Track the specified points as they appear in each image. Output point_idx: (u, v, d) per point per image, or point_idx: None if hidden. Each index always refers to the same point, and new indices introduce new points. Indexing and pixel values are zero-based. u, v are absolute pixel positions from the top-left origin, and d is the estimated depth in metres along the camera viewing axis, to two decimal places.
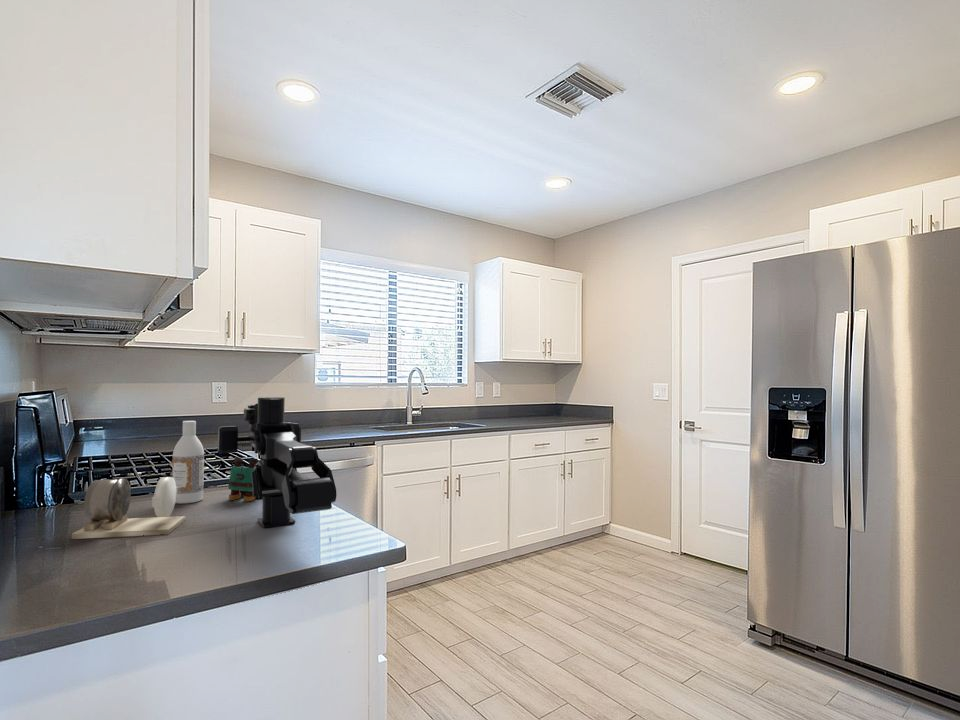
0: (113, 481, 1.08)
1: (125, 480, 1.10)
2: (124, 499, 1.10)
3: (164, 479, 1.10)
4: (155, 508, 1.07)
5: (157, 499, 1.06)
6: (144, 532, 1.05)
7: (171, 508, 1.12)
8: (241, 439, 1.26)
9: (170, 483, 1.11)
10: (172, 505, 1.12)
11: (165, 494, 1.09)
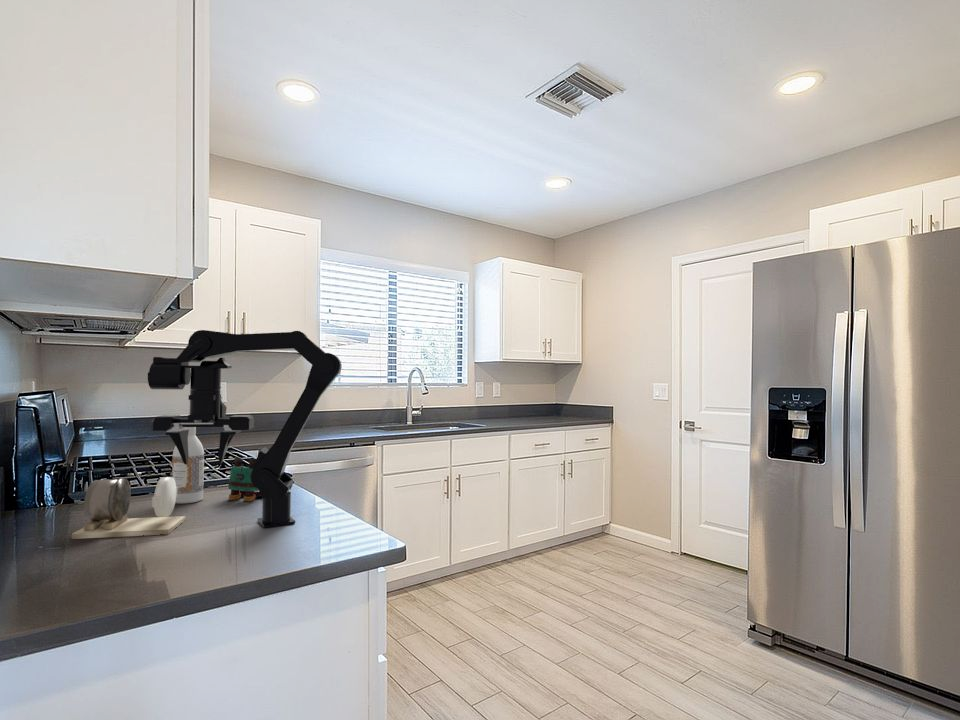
0: (113, 481, 1.08)
1: (125, 480, 1.10)
2: (124, 499, 1.10)
3: (164, 479, 1.10)
4: (155, 508, 1.07)
5: (157, 499, 1.06)
6: (144, 532, 1.05)
7: (171, 508, 1.12)
8: None
9: (170, 483, 1.11)
10: (172, 505, 1.12)
11: (165, 494, 1.09)
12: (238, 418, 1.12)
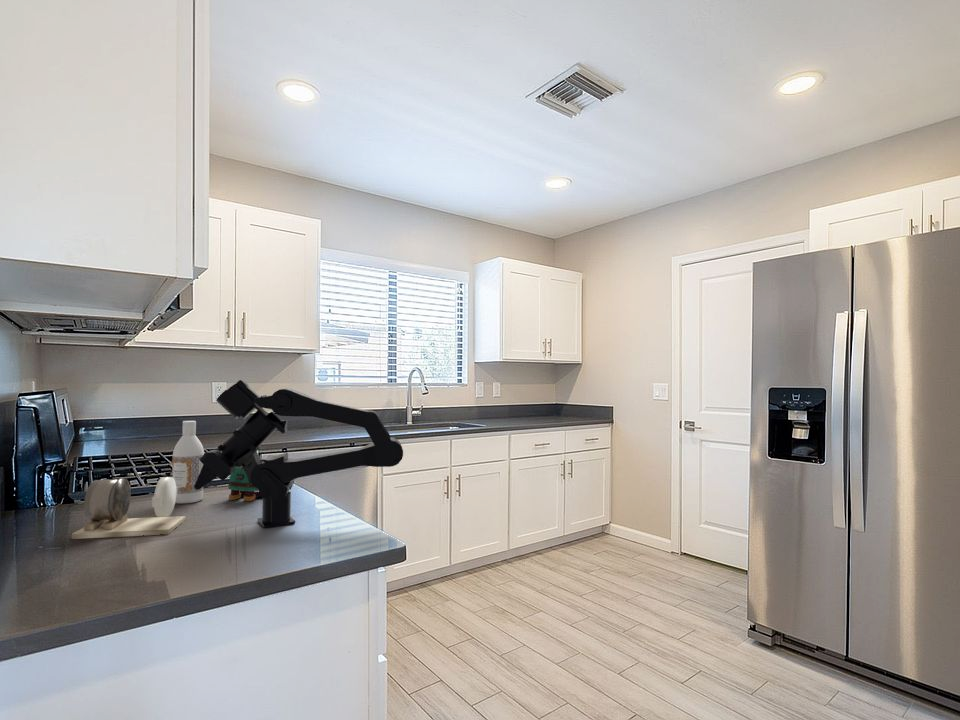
0: (113, 481, 1.08)
1: (125, 480, 1.10)
2: (124, 499, 1.10)
3: (164, 479, 1.10)
4: (155, 508, 1.07)
5: (157, 499, 1.06)
6: (144, 532, 1.05)
7: (171, 508, 1.12)
8: None
9: (170, 483, 1.11)
10: (172, 505, 1.12)
11: (165, 494, 1.09)
12: (213, 451, 1.06)
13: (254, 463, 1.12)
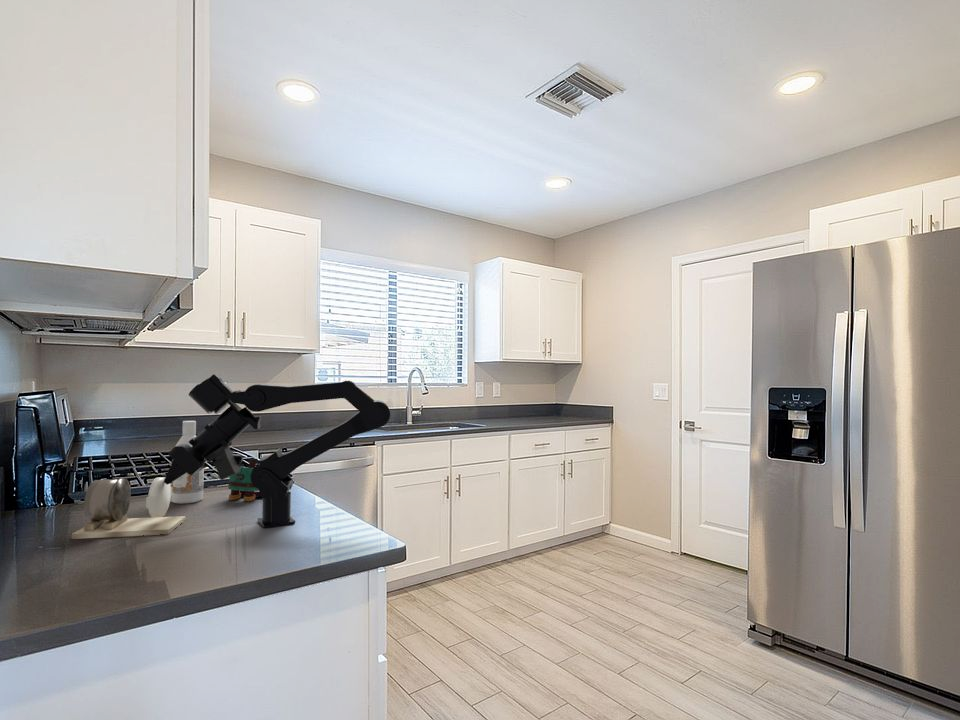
0: (113, 481, 1.08)
1: (125, 480, 1.10)
2: (124, 499, 1.10)
3: (159, 479, 1.09)
4: (149, 508, 1.07)
5: (151, 499, 1.06)
6: (144, 532, 1.05)
7: (165, 508, 1.12)
8: None
9: (165, 483, 1.11)
10: (166, 505, 1.12)
11: (159, 494, 1.08)
12: (182, 445, 1.05)
13: (225, 459, 1.11)
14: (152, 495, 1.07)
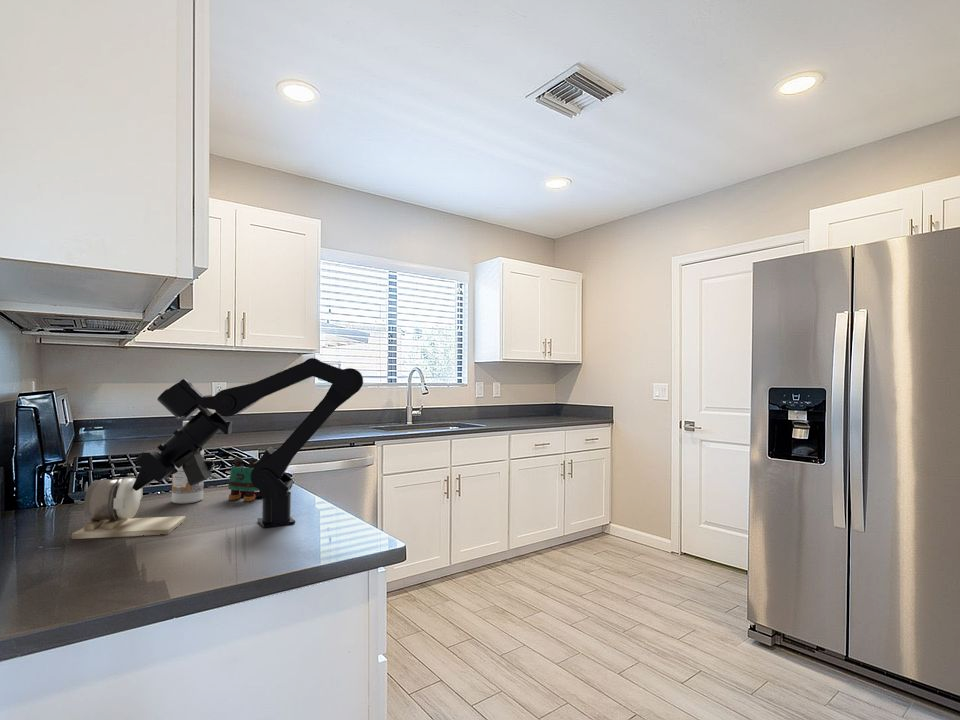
0: (113, 481, 1.08)
1: None
2: None
3: (127, 480, 1.08)
4: (117, 510, 1.05)
5: (119, 500, 1.04)
6: (144, 532, 1.05)
7: (135, 509, 1.10)
8: None
9: None
10: (136, 506, 1.11)
11: (128, 495, 1.07)
12: (149, 451, 1.04)
13: (195, 464, 1.10)
14: (120, 496, 1.05)
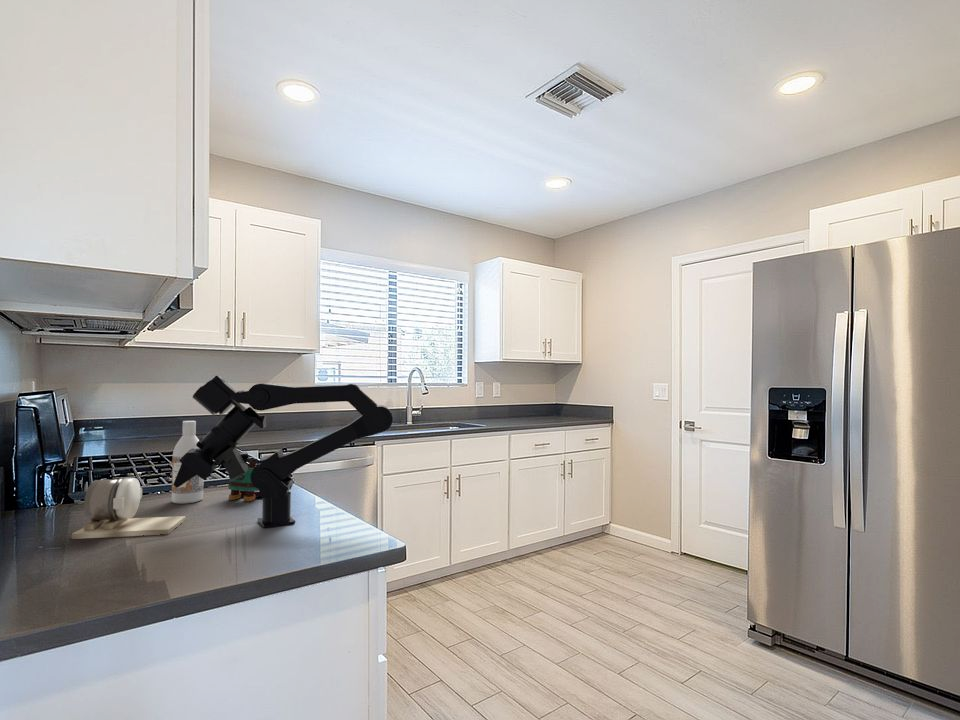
0: (113, 481, 1.08)
1: None
2: None
3: (127, 480, 1.08)
4: (116, 510, 1.05)
5: (118, 500, 1.04)
6: (144, 532, 1.05)
7: (134, 509, 1.10)
8: None
9: (133, 484, 1.10)
10: (136, 506, 1.11)
11: (127, 495, 1.07)
12: (192, 450, 1.05)
13: (234, 459, 1.12)
14: (119, 496, 1.05)
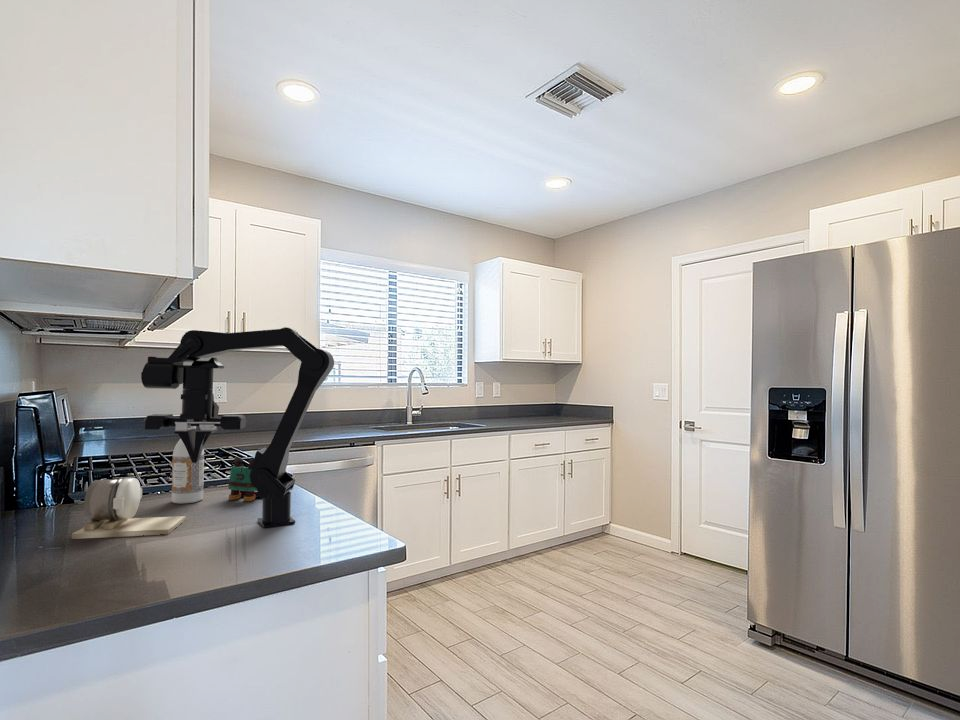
0: (113, 481, 1.08)
1: None
2: None
3: (127, 480, 1.08)
4: (116, 510, 1.05)
5: (118, 500, 1.04)
6: (144, 532, 1.05)
7: (134, 509, 1.10)
8: (173, 417, 1.13)
9: (133, 484, 1.10)
10: (136, 506, 1.11)
11: (127, 495, 1.07)
12: (230, 418, 1.13)
13: (215, 404, 1.19)
14: (119, 496, 1.05)
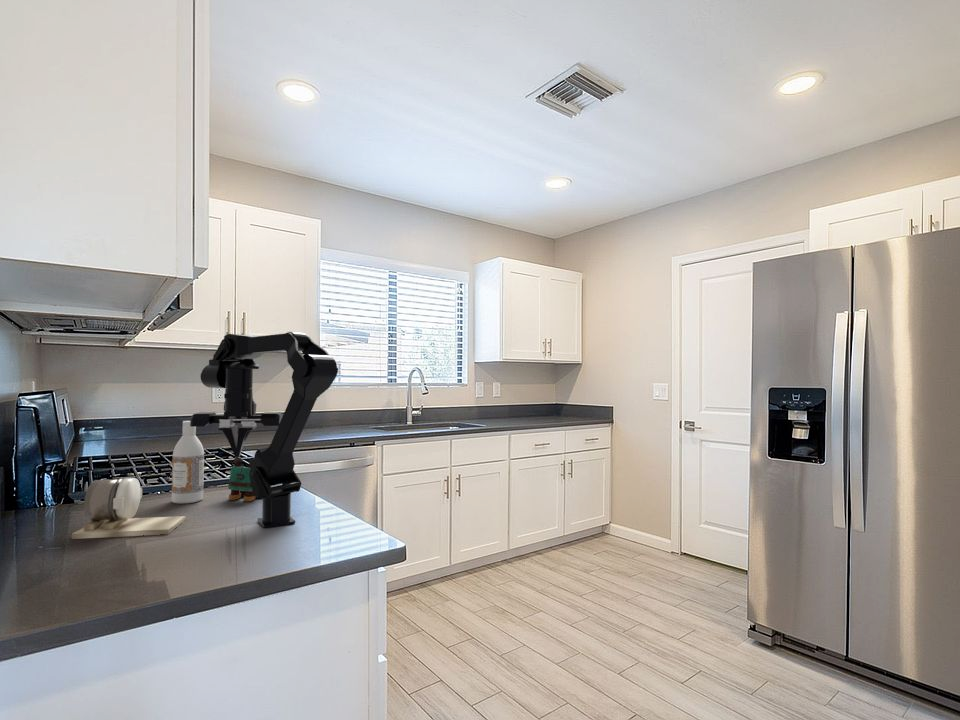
0: (113, 481, 1.08)
1: None
2: None
3: (127, 480, 1.08)
4: (116, 510, 1.05)
5: (118, 500, 1.04)
6: (144, 532, 1.05)
7: (134, 509, 1.10)
8: (216, 415, 1.21)
9: (133, 484, 1.10)
10: (136, 506, 1.11)
11: (127, 495, 1.07)
12: (269, 415, 1.21)
13: (254, 403, 1.27)
14: (119, 496, 1.05)
